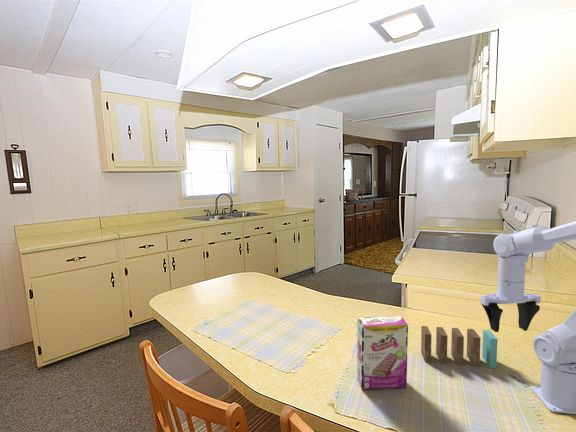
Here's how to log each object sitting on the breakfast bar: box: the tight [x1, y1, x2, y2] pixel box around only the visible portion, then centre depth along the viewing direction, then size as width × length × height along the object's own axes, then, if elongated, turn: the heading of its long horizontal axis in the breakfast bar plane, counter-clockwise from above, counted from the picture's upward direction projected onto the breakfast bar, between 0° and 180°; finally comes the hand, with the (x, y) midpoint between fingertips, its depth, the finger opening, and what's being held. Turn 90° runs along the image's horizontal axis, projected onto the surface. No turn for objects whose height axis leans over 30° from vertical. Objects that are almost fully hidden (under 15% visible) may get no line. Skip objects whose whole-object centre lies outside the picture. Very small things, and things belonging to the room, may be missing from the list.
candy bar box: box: [356, 315, 409, 391], centre depth 77 cm, size 11×5×16 cm, turn 92°
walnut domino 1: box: [420, 325, 433, 363], centre depth 88 cm, size 2×5×8 cm, turn 167°
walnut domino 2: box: [435, 326, 448, 365], centre depth 87 cm, size 2×5×8 cm, turn 168°
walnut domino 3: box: [450, 327, 465, 366], centre depth 86 cm, size 2×5×8 cm, turn 168°
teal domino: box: [481, 329, 499, 369], centre depth 85 cm, size 2×5×8 cm, turn 168°
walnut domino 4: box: [466, 328, 481, 367], centre depth 85 cm, size 2×5×8 cm, turn 168°
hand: (508, 329), depth 83 cm, fingers open, 7 cm apart
